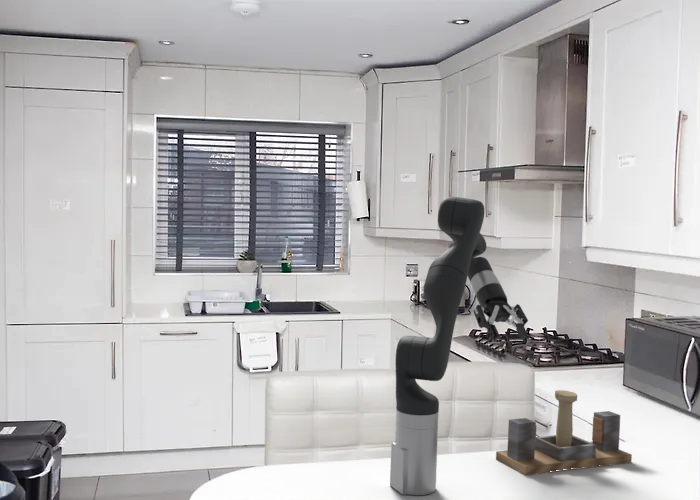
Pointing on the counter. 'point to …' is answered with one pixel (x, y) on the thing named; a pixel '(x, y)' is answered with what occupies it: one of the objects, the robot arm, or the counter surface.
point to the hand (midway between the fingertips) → (510, 338)
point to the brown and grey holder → (547, 456)
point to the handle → (564, 417)
